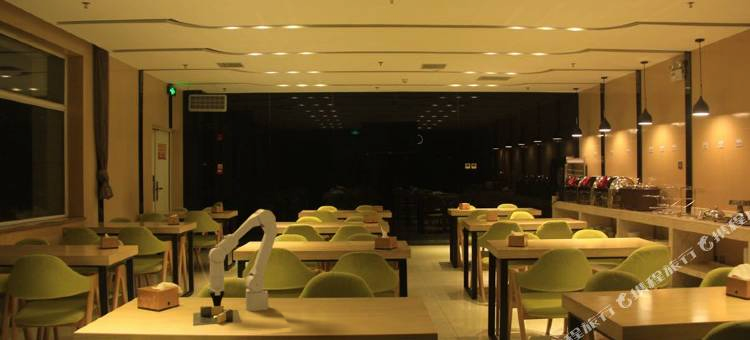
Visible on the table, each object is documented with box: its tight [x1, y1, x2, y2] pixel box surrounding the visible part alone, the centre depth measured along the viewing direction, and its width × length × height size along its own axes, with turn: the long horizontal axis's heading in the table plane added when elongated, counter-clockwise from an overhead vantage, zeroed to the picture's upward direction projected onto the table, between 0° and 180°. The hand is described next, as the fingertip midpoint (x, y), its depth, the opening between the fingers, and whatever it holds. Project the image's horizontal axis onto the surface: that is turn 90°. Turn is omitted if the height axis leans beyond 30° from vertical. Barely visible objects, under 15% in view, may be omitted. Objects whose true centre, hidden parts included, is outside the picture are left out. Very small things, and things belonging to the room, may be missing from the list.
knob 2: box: [217, 308, 234, 323], centre depth 228 cm, size 9×4×4 cm, turn 166°
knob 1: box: [199, 305, 225, 316], centre depth 239 cm, size 9×4×4 cm, turn 107°
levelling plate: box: [192, 309, 242, 327], centre depth 234 cm, size 18×22×2 cm
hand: (217, 309), depth 242 cm, fingers closed
